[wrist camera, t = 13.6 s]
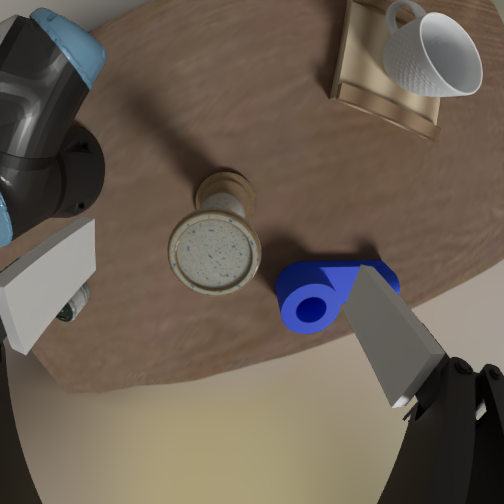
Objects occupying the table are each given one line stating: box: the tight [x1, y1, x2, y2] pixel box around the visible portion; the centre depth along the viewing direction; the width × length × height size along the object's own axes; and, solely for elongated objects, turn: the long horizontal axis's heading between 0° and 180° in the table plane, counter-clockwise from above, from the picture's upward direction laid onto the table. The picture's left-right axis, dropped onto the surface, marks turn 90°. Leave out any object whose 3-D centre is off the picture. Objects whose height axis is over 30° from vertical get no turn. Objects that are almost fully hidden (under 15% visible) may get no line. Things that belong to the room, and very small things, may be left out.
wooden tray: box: [329, 0, 441, 142], centre depth 30 cm, size 18×21×4 cm
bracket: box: [275, 260, 400, 334], centre depth 43 cm, size 20×9×8 cm, turn 97°
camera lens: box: [56, 282, 90, 322], centre depth 41 cm, size 6×6×8 cm
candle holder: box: [167, 172, 261, 297], centre depth 31 cm, size 9×9×20 cm
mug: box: [383, 0, 482, 97], centre depth 23 cm, size 15×11×13 cm
